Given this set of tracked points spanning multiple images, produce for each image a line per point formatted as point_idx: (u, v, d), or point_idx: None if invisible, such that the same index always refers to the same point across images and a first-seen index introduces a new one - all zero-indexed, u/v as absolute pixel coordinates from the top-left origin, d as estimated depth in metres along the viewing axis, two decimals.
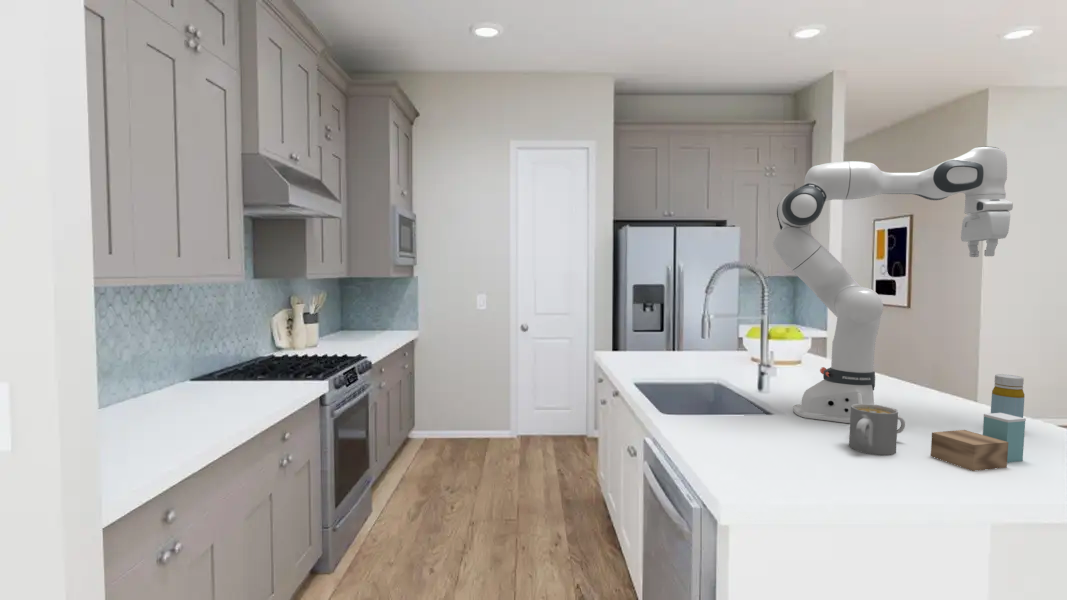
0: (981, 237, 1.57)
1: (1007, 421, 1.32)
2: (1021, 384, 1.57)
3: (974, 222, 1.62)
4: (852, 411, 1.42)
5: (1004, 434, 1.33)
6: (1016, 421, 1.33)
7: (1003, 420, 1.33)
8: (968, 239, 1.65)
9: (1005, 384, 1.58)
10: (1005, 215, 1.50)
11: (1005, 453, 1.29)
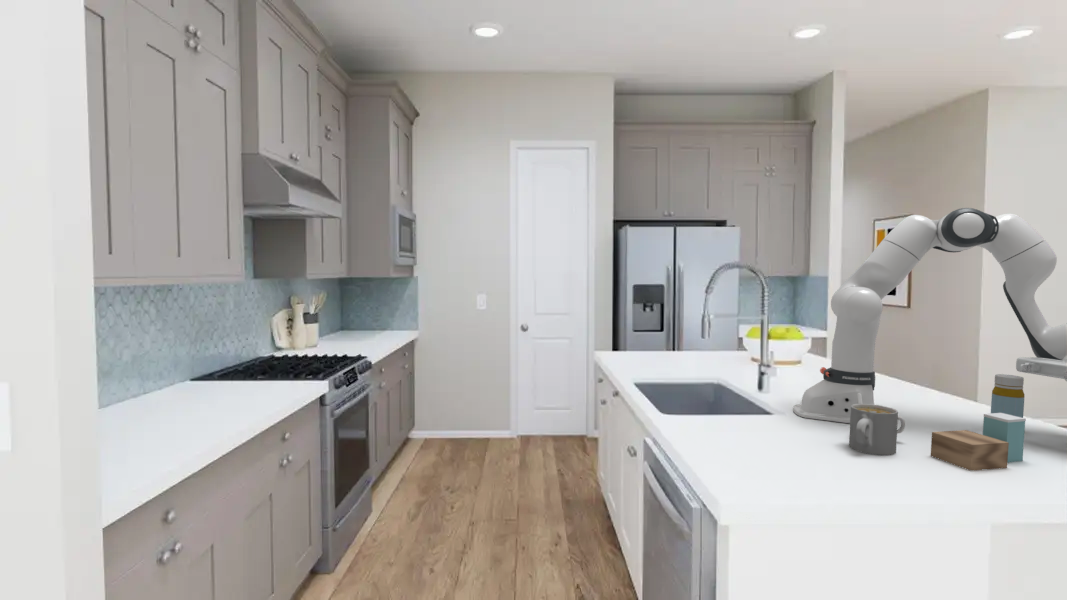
0: None
1: (1007, 421, 1.32)
2: (1021, 384, 1.57)
3: (1065, 363, 1.42)
4: (852, 411, 1.42)
5: (1004, 434, 1.33)
6: (1016, 421, 1.33)
7: (1003, 420, 1.33)
8: (1039, 361, 1.44)
9: (1005, 384, 1.58)
10: None
11: (1005, 453, 1.29)
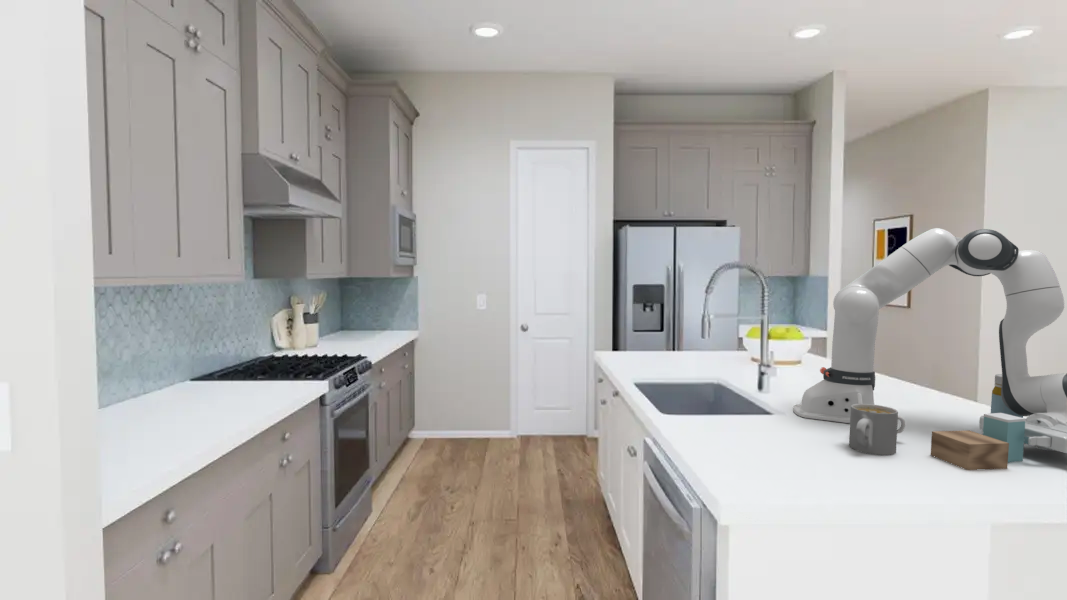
0: (1040, 430, 1.33)
1: (1007, 421, 1.32)
2: None
3: (1027, 424, 1.40)
4: (852, 411, 1.42)
5: (1004, 434, 1.33)
6: (1016, 421, 1.33)
7: (1003, 420, 1.33)
8: None
9: None
10: None
11: (1005, 454, 1.28)
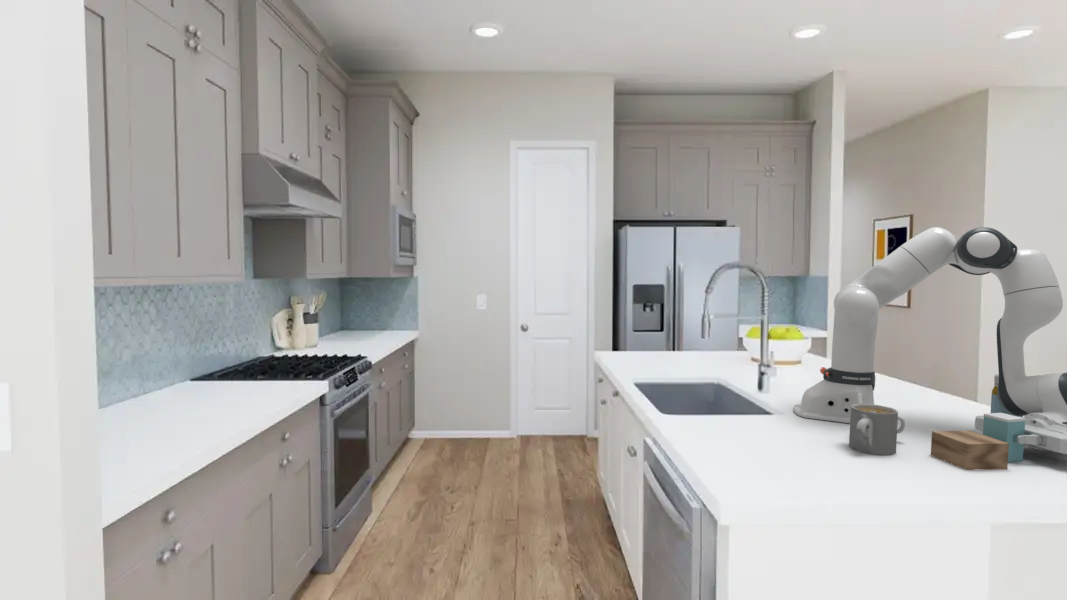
0: (1035, 431, 1.33)
1: (1007, 421, 1.32)
2: None
3: None
4: (852, 411, 1.42)
5: (1004, 434, 1.33)
6: (1016, 421, 1.33)
7: (1003, 420, 1.33)
8: None
9: None
10: None
11: (1005, 454, 1.28)
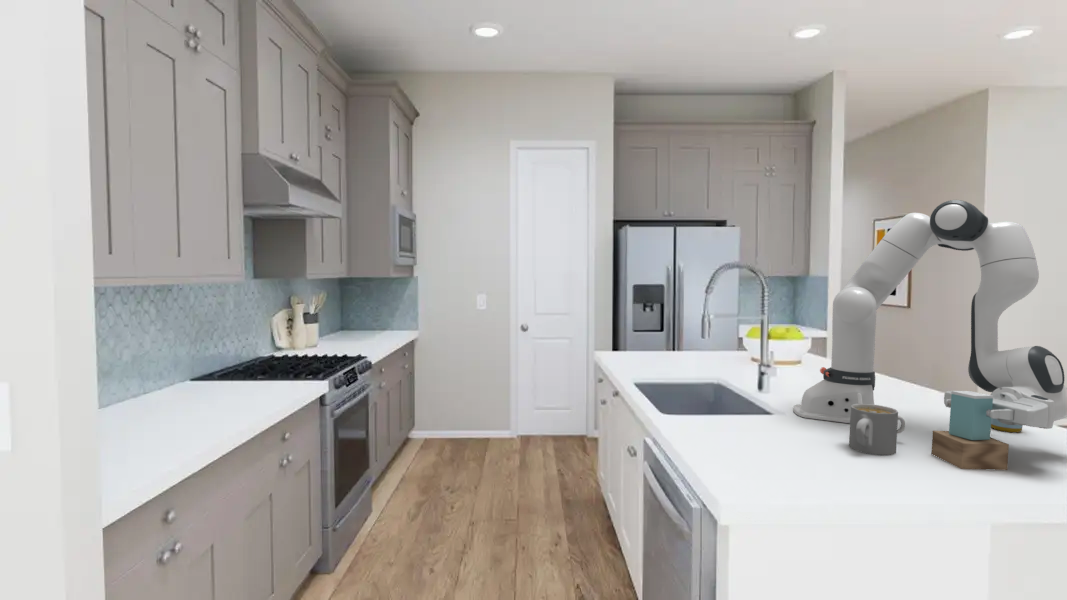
0: (1003, 404, 1.29)
1: (974, 397, 1.29)
2: None
3: None
4: (852, 411, 1.42)
5: (971, 411, 1.30)
6: (984, 397, 1.30)
7: (970, 396, 1.30)
8: None
9: None
10: (1047, 422, 1.26)
11: (1005, 455, 1.28)
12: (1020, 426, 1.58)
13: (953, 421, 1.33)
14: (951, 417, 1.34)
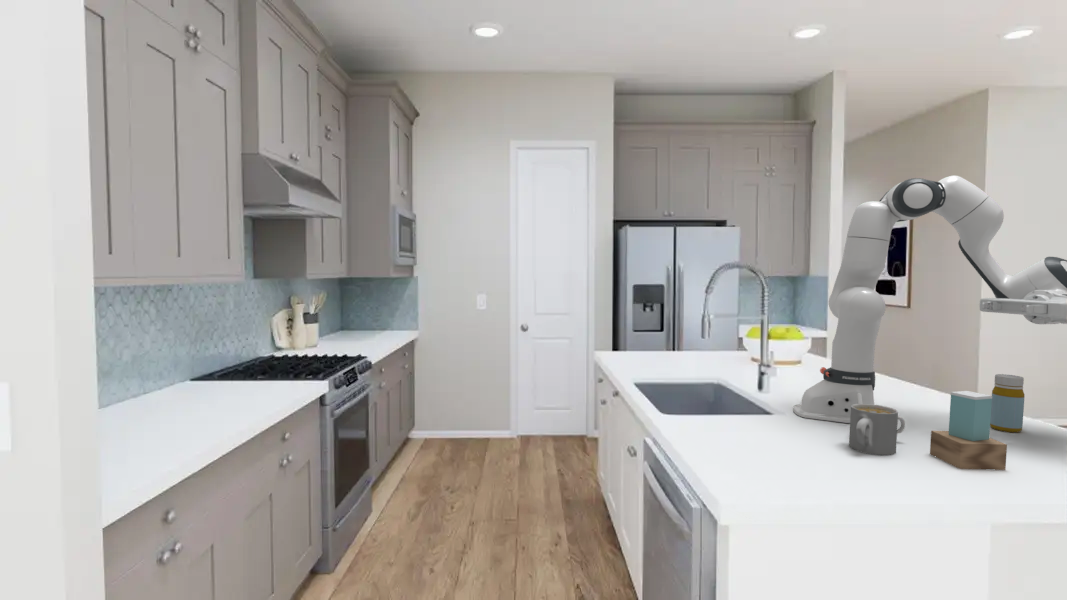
0: (1037, 301, 1.41)
1: (974, 398, 1.29)
2: (1021, 384, 1.57)
3: None
4: (852, 411, 1.42)
5: (972, 412, 1.30)
6: (983, 398, 1.30)
7: (970, 397, 1.30)
8: (1001, 299, 1.49)
9: (1004, 384, 1.58)
10: None
11: (1003, 455, 1.28)
12: (1020, 426, 1.58)
13: (953, 422, 1.33)
14: (951, 418, 1.34)
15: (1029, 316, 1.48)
